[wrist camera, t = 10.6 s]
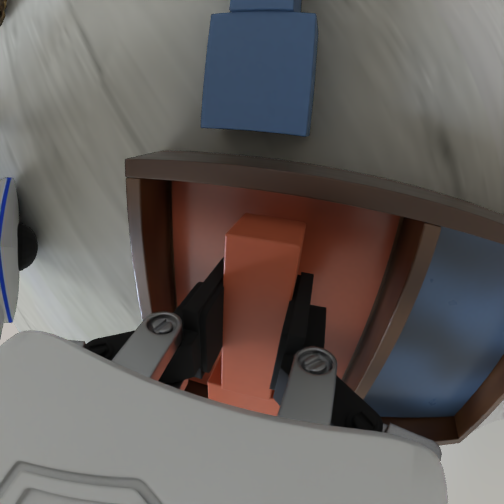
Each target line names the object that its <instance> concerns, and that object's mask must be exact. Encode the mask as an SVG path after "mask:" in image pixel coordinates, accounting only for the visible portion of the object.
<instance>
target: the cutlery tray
mask: <svg viewBox="0 0 504 504" xmlns="http://www.w3.org/2000/svg"><path fill="white" fill-rule="evenodd" d="M125 176H126V177H127V178H126V194H127V210H128V222H129V233H130V243H131V251H132V259H133V267H134V274H135V281H136V287H137V293H138V299H139V305H140V310H141V315H142V320H144V319H145V318H146V317H147V316H148V315H150V314H152V313H155V312H159V311H167V312H172V313H173V312H174V311H175V310H176V308H177V307H178V306H179V305H180V303H181V302H182V301H183V300H184V299H185V297H186V296H187V295H188V294H189V292H190V291H191V290H192V289H193V287H194V286H195V285H196V284H197V283H198V282H204V281H205V279H206V278H207V277H208V276H209V274H210V273H211V272H212V271H213V269H214V268H215V267H216V265H217V264H218V263H219V262H220V260H221V259H222V258H223V257H224V250H225V234H226V233H227V232H228V231H229V230H230V228H231V227H232V226H233V225H234V224H235V223H236V222H237V221H238V220H239V219H240V218H241V217H242V216H243V215H244V214H245V213H251V214H258V215H264V216H270V217H276V218H282V219H289V220H294V221H300V222H305V223H306V229H305V235H304V241H303V247H302V253H301V259H300V264H299V270H298V275H301V272H305V273H310V274H314V278H313V287H312V295H311V303H310V305H316V306H321V307H326V329H325V344H324V349H326V350H328V351H330V352H331V353H332V354H333V355H334V356H335V358H336V360H337V376H338V377H339V378H340V379H341V380H342V381H343V382H344V383H346V384H347V385H348V386H349V387H350V388H351V389H352V390H353V391H354V392H355V393H356V394H357V395H358V396H359V397H361V398H362V399H363V400H364V401H365V402H366V403H367V404H368V405H369V406H370V407H371V408H373V409H374V410H375V411H376V412H377V413H378V414H379V416H380V417H381V419H382V422H383V423H384V424H386V425H389V424H390V423H392V424H394V425H396V426H399V427H401V428H403V429H406V430H408V431H410V432H413V433H415V434H418V435H420V436H423V437H425V438H428V439H430V440H433V441H434V442H436V443H437V444H438V445H446V444H455V443H460V442H461V441H462V440H463V439H465V438H466V437H467V436H468V435H469V434H470V433H471V432H472V431H473V430H475V429H476V428H477V427H478V426H479V425H480V424H481V423H482V422H483V421H484V420H485V419H486V418H487V417H488V416H489V415H490V414H491V413H492V412H493V411H494V409H495V408H496V407H497V406H498V405H499V404H500V403H501V402H502V401H503V400H504V215H503V214H500V213H497V212H495V211H492V210H489V209H487V208H484V207H481V206H478V205H475V204H473V203H470V202H467V201H464V200H461V199H458V198H454V197H451V196H448V195H445V194H441V193H438V192H435V191H431V190H428V189H424V188H420V187H417V186H413V185H409V184H405V183H401V182H397V181H393V180H389V179H385V178H381V177H376V176H372V175H367V174H362V173H357V172H352V171H347V170H342V169H337V168H331V167H326V166H320V165H314V164H307V163H301V162H294V161H287V160H279V159H271V158H263V157H254V156H244V155H233V154H221V153H207V152H189V151H159V152H154V153H149V154H144V155H140V156H135V157H131V158H127V159H125ZM221 354H222V349H221V351H220V353H219V355H218V357H217V359H216V361H215V363H214V365H213V367H212V369H211V371H210V373H205V374H204V376H203V378H202V379H199V378H196V377H192V378H189V379H188V384H187V386H186V388H185V390H184V391H186V392H189V393H192V394H195V395H198V396H201V397H205V398H208V380H209V378H210V376H211V374H212V372H213V369H214V367H215V365H216V363H217V361H218V359H219V357H220V355H221ZM208 399H209V398H208Z"/></svg>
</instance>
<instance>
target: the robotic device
mask: <svg viewBox="0 0 504 504" xmlns="http://www.w3.org/2000/svg"><path fill="white" fill-rule="evenodd" d="M37 250H38V244H37V239H36V236H35V234H34V232H33V231H32V230H31V229H30V228H29V227H27V226H26V225H23V223H19V207H18V197H17V191H16V186H15V182H14V178H3V179H1V180H0V339H1V333H2V328H3V323H11V322H13V319H14V315H15V312H16V306H17V300H18V291H19V271H21V270H23V269H24V268H27V267H28V266H30V265H31V264H32V262H33V261H34V259H35V257H36V255H37Z"/></svg>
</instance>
